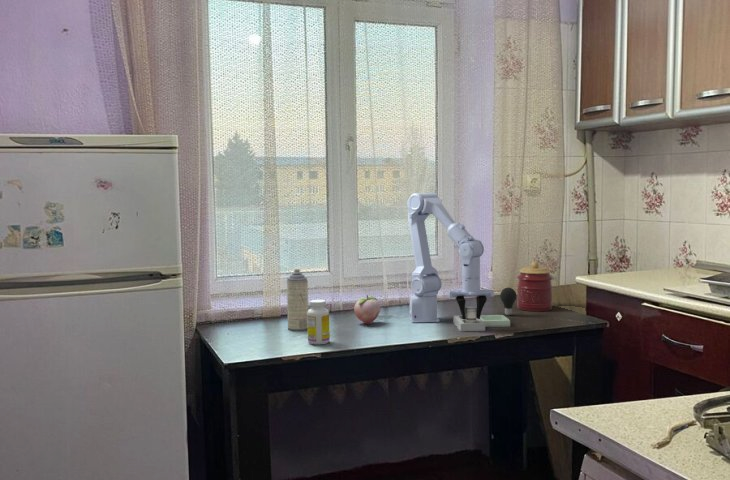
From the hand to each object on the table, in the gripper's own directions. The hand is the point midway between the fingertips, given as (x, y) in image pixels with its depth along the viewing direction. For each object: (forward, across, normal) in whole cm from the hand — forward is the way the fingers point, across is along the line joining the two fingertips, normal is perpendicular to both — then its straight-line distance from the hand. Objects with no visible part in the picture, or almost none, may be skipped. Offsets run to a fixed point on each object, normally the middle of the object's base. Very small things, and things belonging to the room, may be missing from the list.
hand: (470, 318), depth 229 cm
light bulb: (+4, +18, +20) cm, 27 cm away
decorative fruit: (+4, -34, +11) cm, 35 cm away
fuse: (+3, 0, 0) cm, 3 cm away
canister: (+4, +30, +31) cm, 44 cm away
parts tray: (+3, +9, +7) cm, 12 cm away
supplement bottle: (+4, -50, -13) cm, 51 cm away
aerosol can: (+4, -56, +6) cm, 57 cm away
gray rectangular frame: (+3, 0, +3) cm, 5 cm away
